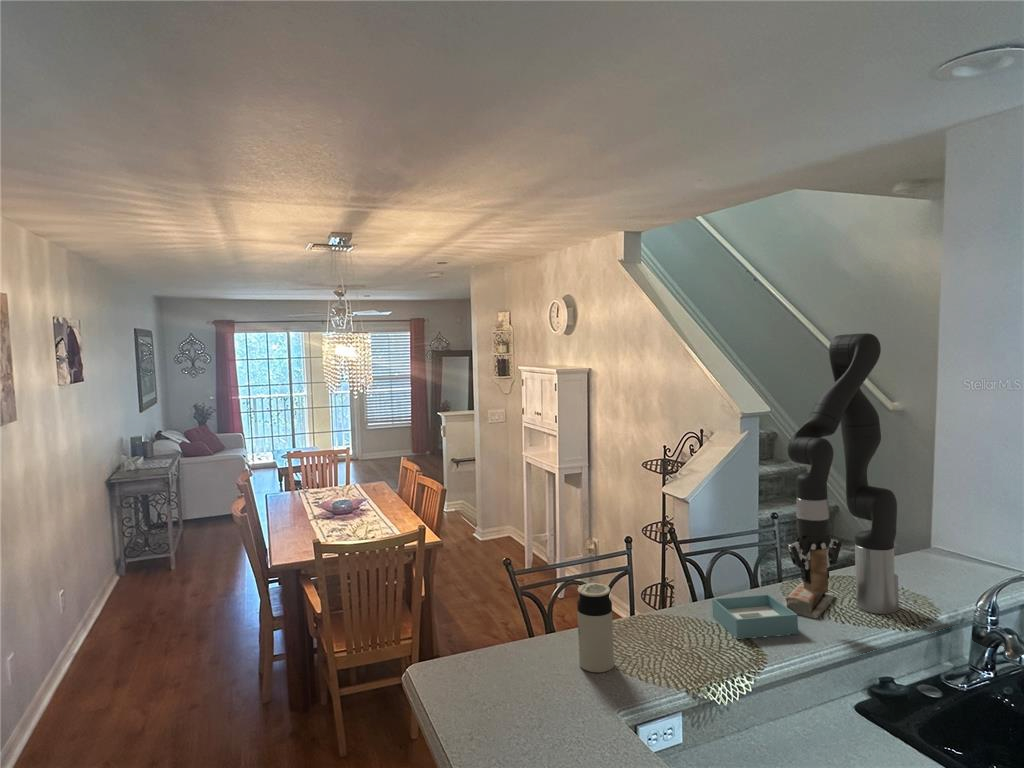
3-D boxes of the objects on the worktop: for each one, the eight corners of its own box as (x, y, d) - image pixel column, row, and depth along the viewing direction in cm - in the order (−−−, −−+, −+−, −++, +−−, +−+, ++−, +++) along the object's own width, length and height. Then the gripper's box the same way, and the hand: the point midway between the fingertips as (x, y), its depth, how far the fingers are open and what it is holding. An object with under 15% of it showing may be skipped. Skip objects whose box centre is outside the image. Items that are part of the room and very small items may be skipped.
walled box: (769, 612, 167) (768, 594, 167) (798, 634, 153) (797, 614, 153) (712, 616, 166) (712, 598, 166) (737, 639, 152) (736, 620, 152)
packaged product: (817, 602, 162) (778, 595, 168) (818, 620, 162) (778, 612, 168) (834, 582, 175) (797, 575, 182) (834, 598, 176) (797, 591, 182)
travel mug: (619, 661, 144) (616, 585, 143) (606, 676, 137) (603, 597, 136) (587, 654, 148) (585, 580, 147) (573, 669, 141) (570, 591, 140)
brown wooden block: (818, 586, 158) (816, 544, 158) (828, 592, 154) (826, 549, 154) (803, 588, 158) (802, 546, 157) (813, 594, 154) (811, 551, 153)
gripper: (829, 509, 159) (832, 574, 160) (778, 514, 158) (781, 579, 159) (848, 516, 152) (851, 584, 153) (794, 521, 151) (797, 590, 151)
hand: (815, 581), depth 156 cm, fingers closed on brown wooden block, 4 cm apart
